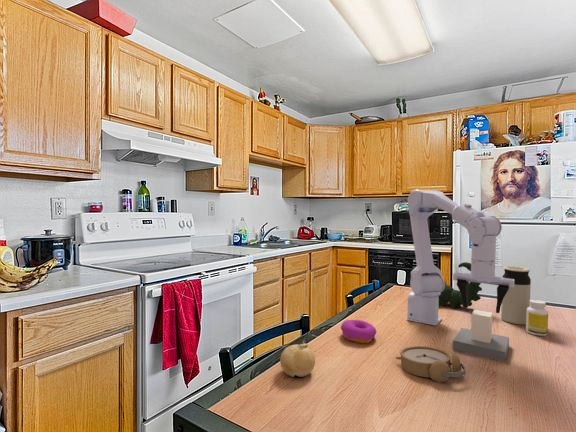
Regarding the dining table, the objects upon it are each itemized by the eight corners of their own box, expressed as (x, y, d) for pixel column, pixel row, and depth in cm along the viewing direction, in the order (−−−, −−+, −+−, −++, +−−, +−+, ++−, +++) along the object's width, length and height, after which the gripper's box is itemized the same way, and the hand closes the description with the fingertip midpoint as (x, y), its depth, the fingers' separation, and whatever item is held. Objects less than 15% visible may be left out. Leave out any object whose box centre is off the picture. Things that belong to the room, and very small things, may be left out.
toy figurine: (481, 313, 130) (418, 294, 148) (488, 264, 128) (423, 251, 146) (472, 318, 123) (407, 298, 142) (478, 267, 121) (412, 253, 140)
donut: (368, 348, 94) (368, 331, 94) (334, 340, 99) (334, 324, 99) (380, 336, 103) (380, 320, 102) (348, 329, 108) (348, 314, 108)
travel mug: (503, 323, 114) (505, 269, 114) (499, 316, 122) (500, 265, 121) (532, 326, 111) (534, 271, 111) (525, 319, 119) (527, 267, 118)
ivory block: (470, 339, 94) (471, 313, 94) (473, 334, 97) (474, 309, 97) (490, 343, 91) (490, 317, 91) (491, 338, 95) (492, 312, 94)
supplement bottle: (551, 337, 102) (552, 304, 102) (530, 335, 103) (531, 303, 103) (541, 330, 108) (542, 299, 107) (522, 329, 109) (523, 298, 108)
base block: (452, 349, 93) (452, 340, 93) (461, 336, 103) (461, 327, 103) (505, 361, 86) (505, 352, 86) (508, 346, 95) (509, 337, 95)
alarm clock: (416, 342, 91) (474, 352, 79) (419, 362, 90) (477, 374, 78) (389, 353, 84) (448, 366, 72) (392, 374, 83) (452, 390, 71)
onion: (303, 385, 74) (304, 353, 74) (273, 375, 78) (273, 345, 78) (320, 370, 81) (320, 340, 81) (291, 362, 85) (291, 333, 85)
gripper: (451, 259, 95) (449, 307, 96) (513, 265, 87) (511, 318, 87) (456, 256, 101) (455, 302, 102) (515, 261, 92) (513, 311, 93)
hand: (481, 309), depth 95 cm, fingers open, 7 cm apart
